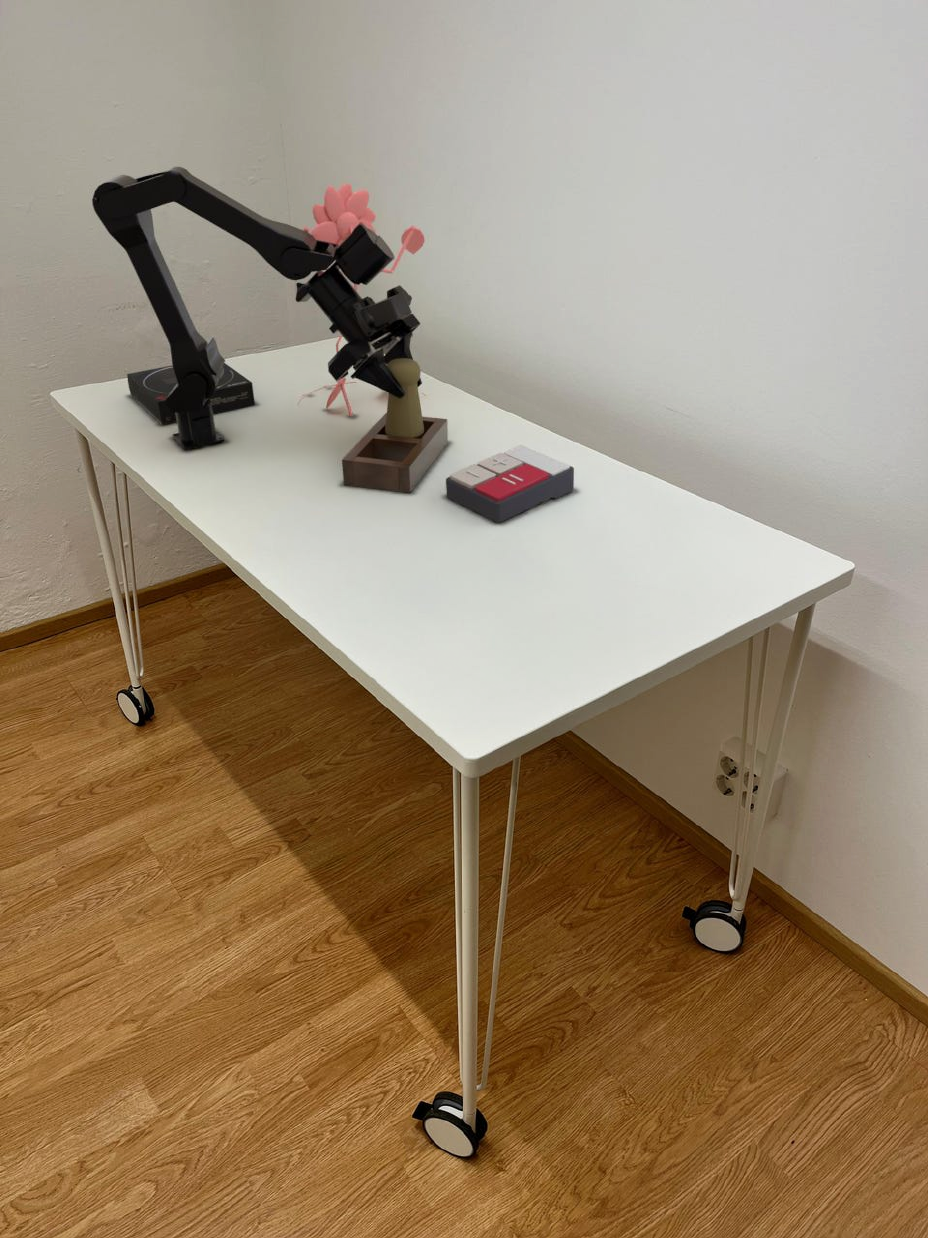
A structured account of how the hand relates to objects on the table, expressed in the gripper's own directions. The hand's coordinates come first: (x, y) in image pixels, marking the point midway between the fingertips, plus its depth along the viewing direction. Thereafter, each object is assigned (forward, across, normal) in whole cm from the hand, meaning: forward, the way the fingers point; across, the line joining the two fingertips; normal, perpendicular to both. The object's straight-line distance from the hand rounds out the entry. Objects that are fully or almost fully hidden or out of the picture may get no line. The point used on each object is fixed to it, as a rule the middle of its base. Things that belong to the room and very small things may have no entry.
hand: (411, 390), depth 146 cm
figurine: (-7, +16, +22) cm, 28 cm away
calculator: (+21, -7, -7) cm, 23 cm away
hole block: (+7, -4, +7) cm, 11 cm away
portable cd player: (-25, +4, +40) cm, 47 cm away
